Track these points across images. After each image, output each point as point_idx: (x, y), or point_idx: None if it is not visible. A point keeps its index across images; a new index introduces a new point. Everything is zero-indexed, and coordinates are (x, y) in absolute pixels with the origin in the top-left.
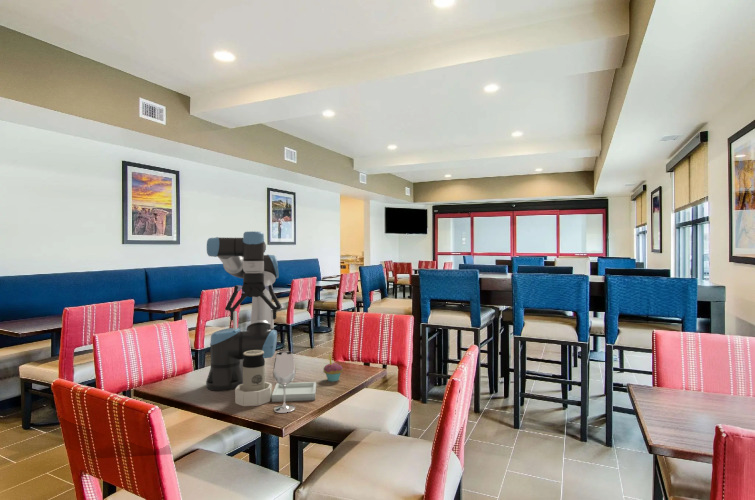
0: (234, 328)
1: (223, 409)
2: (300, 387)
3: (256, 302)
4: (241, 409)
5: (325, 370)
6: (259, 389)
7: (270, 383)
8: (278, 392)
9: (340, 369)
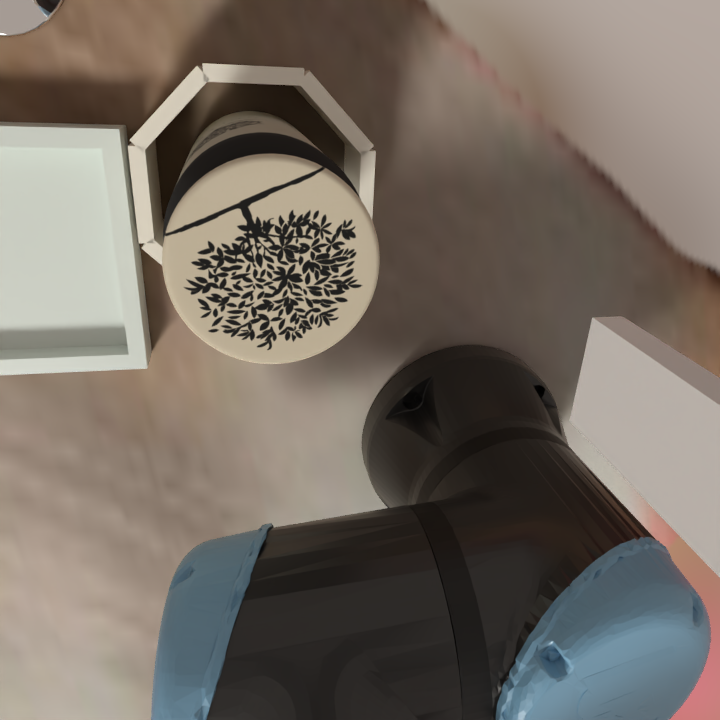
0: (615, 324)
1: (408, 31)
2: None
3: None
4: (297, 8)
5: None
6: (204, 135)
7: (151, 253)
8: (109, 255)
9: None
